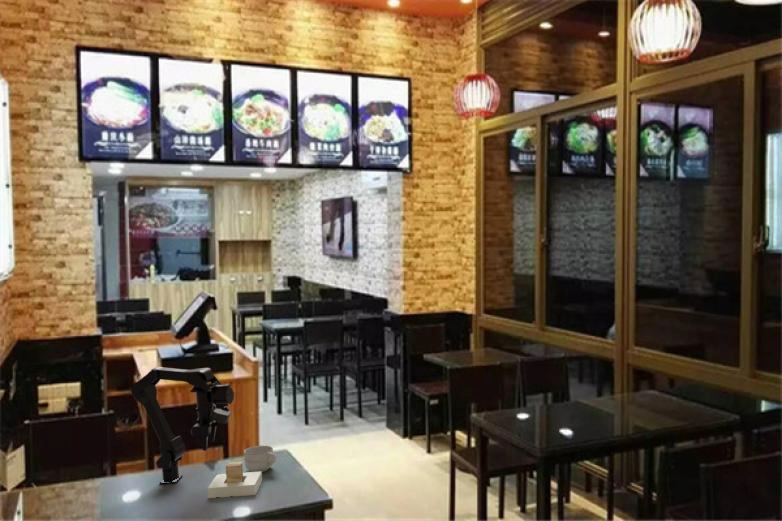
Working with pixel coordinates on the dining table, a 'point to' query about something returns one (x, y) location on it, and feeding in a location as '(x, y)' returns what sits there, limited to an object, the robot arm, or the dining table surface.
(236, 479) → the wooden bar
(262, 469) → the teacup
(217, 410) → the robot arm
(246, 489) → the well block
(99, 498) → the dining table surface
